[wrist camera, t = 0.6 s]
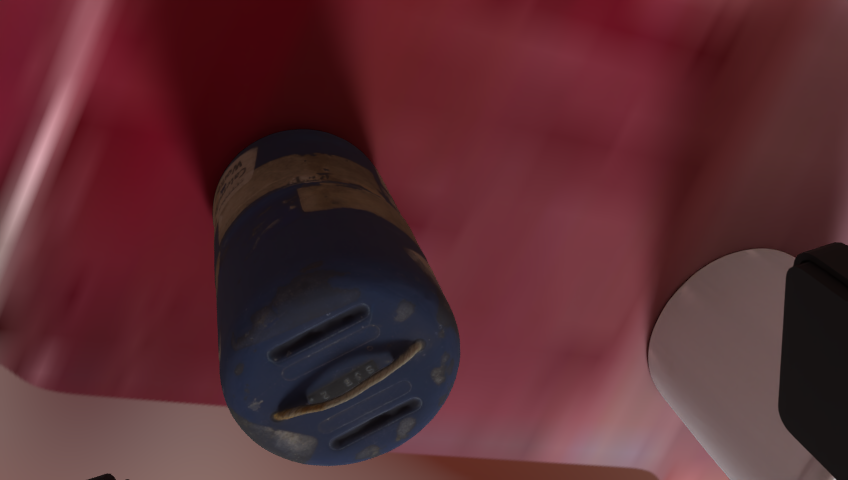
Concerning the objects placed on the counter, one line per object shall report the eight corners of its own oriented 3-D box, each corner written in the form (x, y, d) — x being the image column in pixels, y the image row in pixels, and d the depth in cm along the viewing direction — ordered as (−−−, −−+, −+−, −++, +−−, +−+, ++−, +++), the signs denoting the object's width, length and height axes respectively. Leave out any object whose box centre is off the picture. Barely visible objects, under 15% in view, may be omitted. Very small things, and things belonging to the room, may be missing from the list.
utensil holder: (717, 207, 52) (931, 359, 37) (861, 273, 59) (1094, 426, 44) (601, 384, 57) (751, 584, 42) (746, 428, 63) (922, 617, 48)
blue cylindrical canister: (393, 253, 48) (492, 456, 32) (236, 295, 46) (260, 529, 31) (364, 101, 43) (462, 254, 28) (187, 143, 42) (187, 328, 26)
